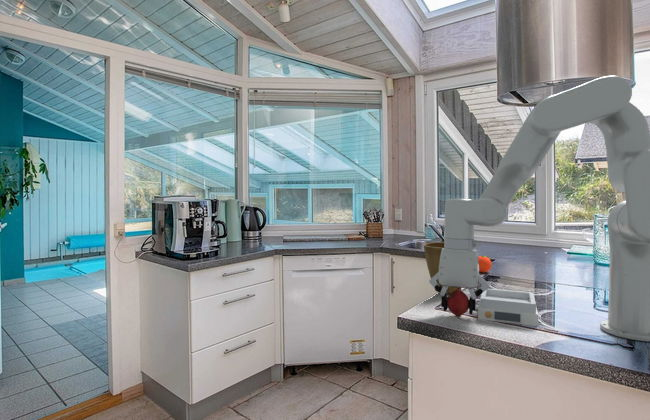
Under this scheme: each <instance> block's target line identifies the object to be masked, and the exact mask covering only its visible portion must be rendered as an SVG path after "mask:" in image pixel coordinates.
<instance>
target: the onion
mask: <svg viewBox="0 0 650 420" xmlns="http://www.w3.org/2000/svg"><path fill="white" fill-rule="evenodd" d="M462 289H463V288H457V289H456V290H455V291H453V292H452V293H451V294H449V295H448V299H447V306H448V310H449V311H450V312H451V313H452V314H453V315H454V316H456V317H458V318H460V317H462V316H463V315H464V314H465V313H467V312H469V299H470V297H468V295H467V294H466V293H465V292H464V291H462Z"/></svg>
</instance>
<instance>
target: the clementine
mask: <svg viewBox="0 0 650 420" xmlns="http://www.w3.org/2000/svg"><path fill="white" fill-rule="evenodd" d="M478 260H479V273H482V274H483V273H487V272H490V271H491V269H492V266H493V265H492V260H491V259H490V258H489V256H485V255H480V256H478Z"/></svg>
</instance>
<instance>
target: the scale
mask: <svg viewBox="0 0 650 420" xmlns="http://www.w3.org/2000/svg"><path fill="white" fill-rule="evenodd" d="M477 320H483V321H491V322H499V323H508V324H516V325H524V326H533V327H538V326H539V312H538V309H537V302H536V298H535V295H534V292H530V291H520V290H510V289H509V290H507V289H498V288H497V289H496V288H488V289H487V290H486V291H484V292H483V293H482V294H481V295H480V300H479V303H478V307H477Z"/></svg>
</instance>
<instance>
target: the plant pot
mask: <svg viewBox="0 0 650 420" xmlns="http://www.w3.org/2000/svg"><path fill="white" fill-rule="evenodd" d="M442 248H444V242H443V241H441V242H440V241H439V242H426V243H424V244H423V249H424V256H425V257H424V258H425V262H426V266H427V269H428V273H429V276H430V279H431V278H432V277H433V276H435V275H436V274H437V273H438V272H439V263H440V256H441V251H442ZM436 282H437V283H438V284H439V278H438V279H437V280H436ZM439 285H440V286H441V287H442V288H443V285H441V284H439ZM457 288H458V287H448V289H447V291H446V292H447V295H448V294H449V295H450V294H451V293H452V292H453V291H455V290H456V289H457ZM434 291H435V292H437V293H439V292H438V291H437V290H436V289H435V288H434Z"/></svg>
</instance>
